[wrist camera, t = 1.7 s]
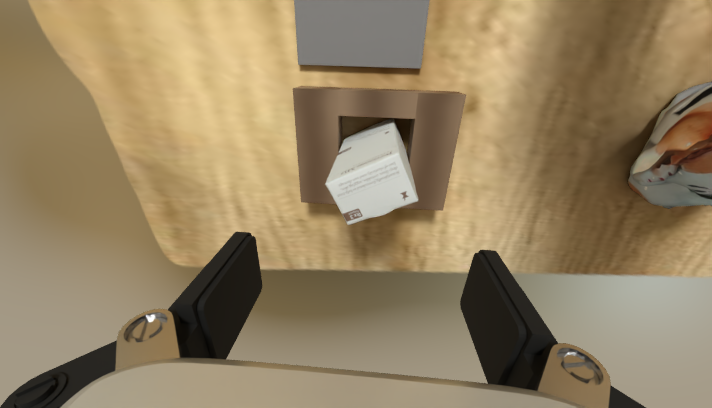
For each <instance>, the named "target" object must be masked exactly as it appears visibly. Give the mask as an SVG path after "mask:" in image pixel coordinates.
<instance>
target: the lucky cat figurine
mask: <svg viewBox="0 0 712 408" xmlns="http://www.w3.org/2000/svg"><path fill="white" fill-rule="evenodd" d="M630 175H631V176H630V178H629V180H628V184H629V186H630V187H631V189H632V190H634V191H635V192H636V193H638V194H639V195H641V196H642V197H643V198H644V199H645V200H646V201H648V202H649V203H651V204H654V205H659V206H663V207H665V208H668V209H670V208H672V207H676V206H695V205H711V206H712V82H708V83H705V84H701V85H697V86H694V87H691V88H688V89H686V90H685V91H682V92H681V93H679V94H677V95H676V97H675V98H674V100H673V101H672V102H671V104H670V105H669V106H668V107H667V108H666V109H664V110H663V111H662V112H661V114H660V115H659V118H658V120H657V123H656V125H655V128H654V130H653V132H652V134H651V136H650V138H649V140H648V141H647V143H646V145H645V147H644V149H643V150H642V152H641V153H640V155H639V157H638V158H637V160H636V161H635V162H634V164H633V165H632V167H631V171H630Z"/></svg>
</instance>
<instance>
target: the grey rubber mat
mask: <svg viewBox="0 0 712 408" xmlns="http://www.w3.org/2000/svg"><path fill="white" fill-rule="evenodd" d="M294 4H295V20H296V36H297V52H298V65H328V66H360V67H392V68H421V63H422V55H423V47H424V39H425V31H426V23H427V15H428V7H429V0H294Z"/></svg>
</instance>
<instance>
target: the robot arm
mask: <svg viewBox="0 0 712 408" xmlns="http://www.w3.org/2000/svg"><path fill="white" fill-rule="evenodd" d="M261 289H262V280H261V272H260V266H259V259H258V252H257V245H256V239H255V237H254V236H252V235H251V233H247V232H235V233H234V234H233V235H232V237H231V238H230V239H229V240H228V241H227V242H226V244H225V245H224V246H223V247H222V248H221V249H220V251H219V252H218V253H217V254H216V255H215V256H214V258H213V259H212V260H211V261H210V262H209V263H208V264H207V265H206V266H205V267H204V268H203V270H202V271H201V272H200V274H198V276H197V277H196V278H195V279H194V280H193V281H192V282H191V283H190V285H189V286H188V287H187V288H186V289H185V290H184V292H183V293H182V294H181V295H180V296H179V297H178V299H177V300H176V301H175V302H174V303H173V304H172V305H171V307H170V308H169V309H168V310H166V309H153V310H149V311H146V312H143V313H141V314H139V315H137V316H135V317H134V318H132V319H131V320H129V321H128V322H127V323H126V324H125V325H124V326H123V327H122V328H121V330H120V331H119V333H118V336H117V341H115V342H112V343H110V344H108V345H106V346H103V347H101V348H99V349H97V350H94V351H92V352H90V353H88V354H85V355H83V356H81V357H79V358H76V359H74V360H72V361H70V362H67V363H65V364H63V365H61V366H58V367H56V368H54V369H52V370H49V371H47V372H45V373H43V374H40V375H39V376H37V377H35V378H33V379H31V380H29V381H28V382H27V383H25V384H23V385H22V386H20V387H19V388H18V389H17V390H16V391H14V392H13V393H12V394H11V395H10V396H9V397H8V398H7V399H6V400H5V402H4V403H3V404H2V405H1V407H0V408H646V407H644V406H642V405H641V404H639V403H638V402H636V401H634V400H633V399H631V398H630V397H628V396H626V395H625V394H623V393H622V392H620V391H619V390H617V389H615V388H614V387H612V386H611V382H610V376H609V375H608V373H607V371H606V369H605V368H604V367H603V365H602V364H601V363H600V362H599V361H598V360H597V359H596V358H594V357H593V356H592V355H591V354H589V353H588V352H586V351H584V350H583V349H581V348H578V347H576V346H574V345H570V344H566V343H559V344H558V342H557V341H556V339H555V338H554V337H553V335H552V333H551V332H550V330H549V329H548V327H547V326H546V324H545V323H544V321H543V320H542V318H541V317H540V315H539V314H538V312H537V311H536V310H535V308H534V306H533V305H532V303H531V302H530V300H529V299H528V298H527V296H526V294H525V293H524V291H523V290H522V289H521V287H520V286H519V285H518V283H517V282H516V281H515V279H514V277H513V276H512V274H511V273H510V271H509V270H508V268H507V267H506V265H505V264H504V262H503V261H502V259H501V258H500V256H499V255H498V253H497V252H496V251H491V250H480V251H479V252H478V253H475V254H474V257H473V260H472V263H471V267H470V270H469V274H468V277H467V280H466V284H465V287H464V290H463V294H462V297H461V301H460V302H461V303H460V305H461V310H462V312H463V315H464V318H465V321H466V324H467V326H468V329H469V332H470V335H471V338H472V340H473V343H474V346H475V349H476V352H477V354H478V357H479V360H480V363H481V366H482V368H483V371H484V374H485V376H486V379H487V382H488V384H486V383H477V382H468V381H459V380H449V379H438V378H429V377H418V376H408V375H398V374H386V373H377V372H365V371H354V370H344V369H333V368H322V367H311V366H299V365H288V364H276V363H264V362H253V361H240V360H226V358H227V356H228V354H229V352H230V350H231V348H232V347H233V345H234V343H235V341H236V339H237V337H238V335H239V333H240V331H241V329H242V327H243V325H244V323H245V321H246V319H247V318H248V316H249V314H250V312H251V310H252V308H253V306H254V304H255V302H256V300H257V298H258V296H259V294H260V292H261Z"/></svg>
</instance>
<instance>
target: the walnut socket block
mask: <svg viewBox="0 0 712 408" xmlns="http://www.w3.org/2000/svg"><path fill="white" fill-rule="evenodd" d="M293 98H294V111H295V125H296V138H297V152H298V165H299V179H300V192H301V202H307V203H324V204H336V202H335V201H334V199H333V197H332V195H331V194H330V192H329V190H328V188H327V186H326V185H325V183H326V181H327V178H328V176H329V174H330V171H331V169H332V167H333V164H334V162H335V160H336V157H337V155H338V153H339V151H340V148H341V146H342V116H357V117H381V118H406V119H411V124H410V133H409V141H408V150H407V157H408V161H409V164H410V168H411V172H412V176H413V179H414V184H415V188H416V193H417V196H418V199H419V200H418V201H417V202H414V203H411V204H408V205H405V206H403V207H400V208H409V209H426V210H443V207H444V202H445V197H446V192H447V187H448V183H449V178H450V173H451V168H452V163H453V158H454V153H455V148H456V143H457V138H458V133H459V128H460V123H461V118H462V113H463V108H464V103H465V98H466V95H465V94H462V93H459V92H448V91H420V90H392V89H364V88H336V87H308V86H300V87H296V88H293Z"/></svg>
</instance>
